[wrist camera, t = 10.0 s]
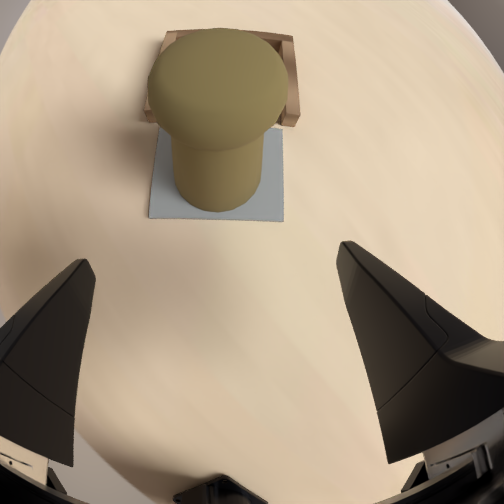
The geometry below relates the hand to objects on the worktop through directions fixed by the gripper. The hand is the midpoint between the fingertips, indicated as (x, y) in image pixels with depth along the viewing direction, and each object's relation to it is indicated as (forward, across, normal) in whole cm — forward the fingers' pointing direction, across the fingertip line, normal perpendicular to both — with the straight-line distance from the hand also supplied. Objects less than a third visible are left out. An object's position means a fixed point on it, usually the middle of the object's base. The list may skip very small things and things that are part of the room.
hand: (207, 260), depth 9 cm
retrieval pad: (+11, 0, +1) cm, 11 cm away
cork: (+11, 0, +1) cm, 11 cm away
